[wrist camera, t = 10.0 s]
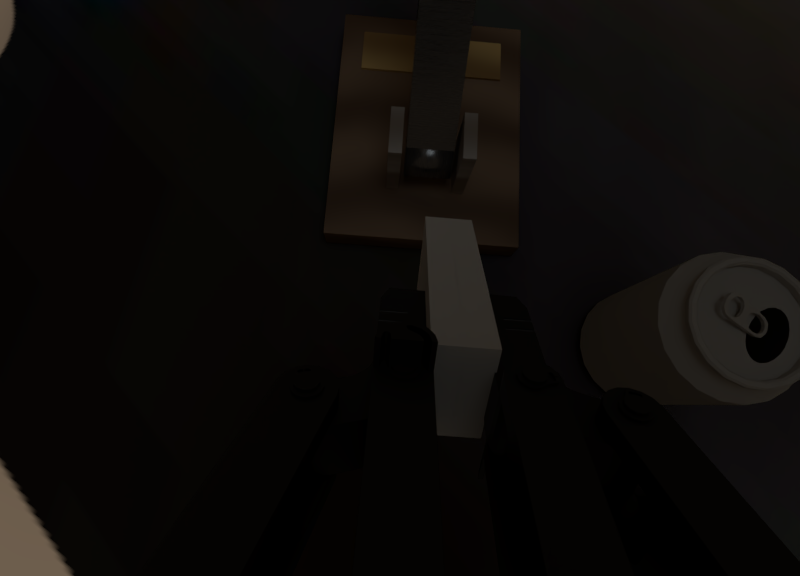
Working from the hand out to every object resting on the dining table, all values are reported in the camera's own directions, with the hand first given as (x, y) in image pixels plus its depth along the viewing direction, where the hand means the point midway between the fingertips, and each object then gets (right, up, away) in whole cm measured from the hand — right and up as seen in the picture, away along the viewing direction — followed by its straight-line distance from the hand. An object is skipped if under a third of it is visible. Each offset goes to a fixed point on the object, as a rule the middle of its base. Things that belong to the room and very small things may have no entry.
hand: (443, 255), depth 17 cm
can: (+14, -5, +18) cm, 23 cm away
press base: (0, +10, +20) cm, 23 cm away
